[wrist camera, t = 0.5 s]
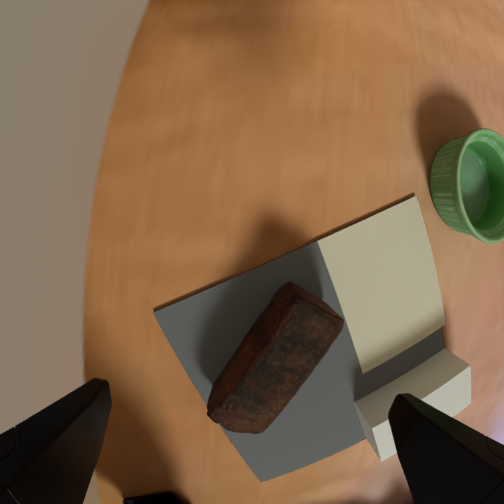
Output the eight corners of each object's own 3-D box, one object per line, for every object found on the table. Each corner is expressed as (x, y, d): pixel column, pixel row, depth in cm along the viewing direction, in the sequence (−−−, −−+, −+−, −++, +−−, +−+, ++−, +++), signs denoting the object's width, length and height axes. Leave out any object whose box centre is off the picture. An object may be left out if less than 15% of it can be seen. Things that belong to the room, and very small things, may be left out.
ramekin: (414, 223, 23) (448, 228, 19) (429, 119, 22) (462, 109, 18) (482, 246, 24) (515, 253, 20) (494, 156, 23) (526, 153, 19)
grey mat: (260, 480, 25) (260, 482, 25) (153, 311, 22) (153, 312, 22) (451, 384, 26) (452, 385, 26) (414, 195, 23) (416, 195, 22)
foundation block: (365, 435, 26) (381, 461, 22) (353, 402, 25) (371, 428, 21) (448, 385, 26) (470, 403, 22) (444, 348, 25) (470, 365, 21)
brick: (281, 274, 22) (297, 293, 18) (326, 301, 23) (350, 324, 18) (206, 389, 23) (204, 426, 18) (249, 409, 24) (256, 446, 19)
